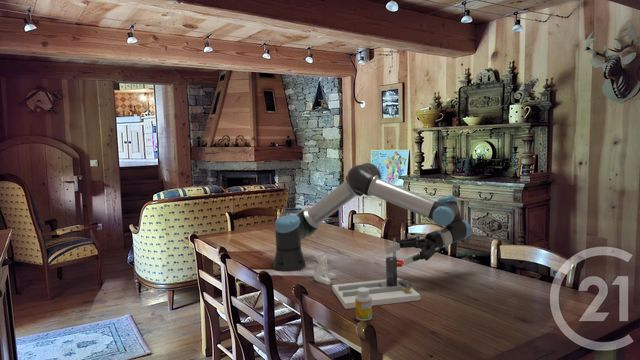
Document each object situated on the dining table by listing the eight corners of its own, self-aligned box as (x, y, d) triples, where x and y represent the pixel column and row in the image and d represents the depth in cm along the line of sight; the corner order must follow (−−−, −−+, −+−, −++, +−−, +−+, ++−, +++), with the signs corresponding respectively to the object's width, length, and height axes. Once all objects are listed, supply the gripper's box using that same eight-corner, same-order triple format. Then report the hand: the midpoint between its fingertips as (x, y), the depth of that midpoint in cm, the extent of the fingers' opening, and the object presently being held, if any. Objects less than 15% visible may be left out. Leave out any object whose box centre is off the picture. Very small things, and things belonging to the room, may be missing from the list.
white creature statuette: (329, 285, 179) (328, 256, 178) (309, 283, 182) (308, 255, 181) (336, 278, 188) (335, 250, 187) (317, 276, 191) (316, 249, 190)
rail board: (345, 308, 154) (345, 298, 154) (332, 289, 174) (332, 280, 173) (420, 300, 160) (420, 289, 159) (399, 282, 179) (399, 273, 179)
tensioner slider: (388, 295, 160) (388, 264, 158) (379, 286, 169) (379, 257, 168) (417, 292, 162) (416, 262, 161) (406, 283, 171) (406, 255, 170)
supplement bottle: (354, 315, 148) (353, 287, 148) (370, 313, 149) (369, 286, 148) (357, 321, 143) (356, 292, 142) (373, 320, 144) (372, 291, 143)
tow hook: (385, 261, 211) (385, 266, 202) (385, 234, 211) (385, 238, 201) (403, 261, 210) (404, 266, 201) (403, 234, 209) (403, 238, 200)
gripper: (459, 256, 173) (415, 275, 165) (421, 239, 195) (380, 255, 188) (457, 239, 171) (412, 257, 163) (418, 223, 194) (377, 239, 186)
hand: (395, 256), depth 176 cm, fingers open, 13 cm apart
